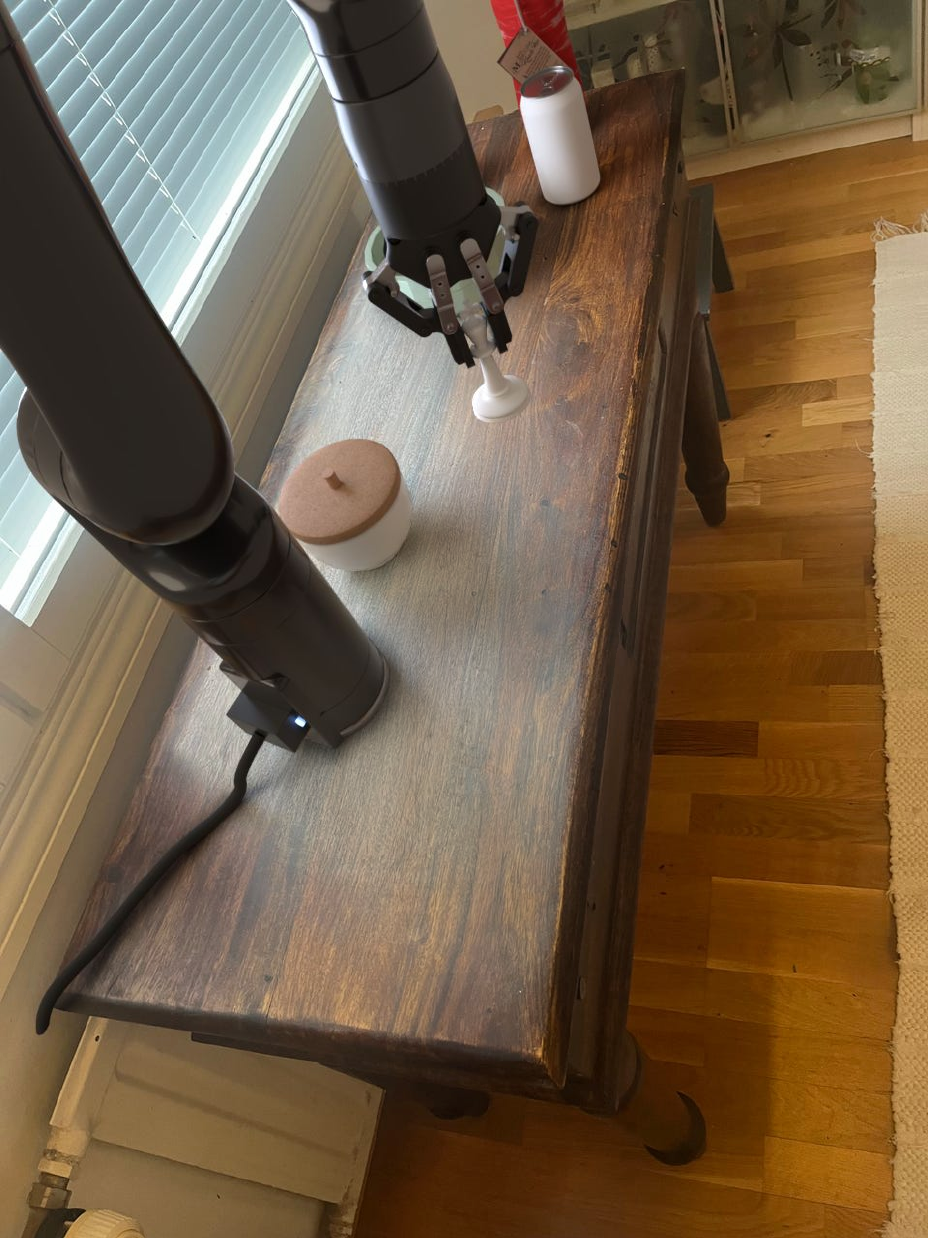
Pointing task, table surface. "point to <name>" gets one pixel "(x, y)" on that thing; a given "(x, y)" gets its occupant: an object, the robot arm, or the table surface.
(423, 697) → the table surface
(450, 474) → the table surface
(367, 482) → the trinket box
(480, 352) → the chess piece
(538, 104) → the can
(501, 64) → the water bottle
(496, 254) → the bowl
